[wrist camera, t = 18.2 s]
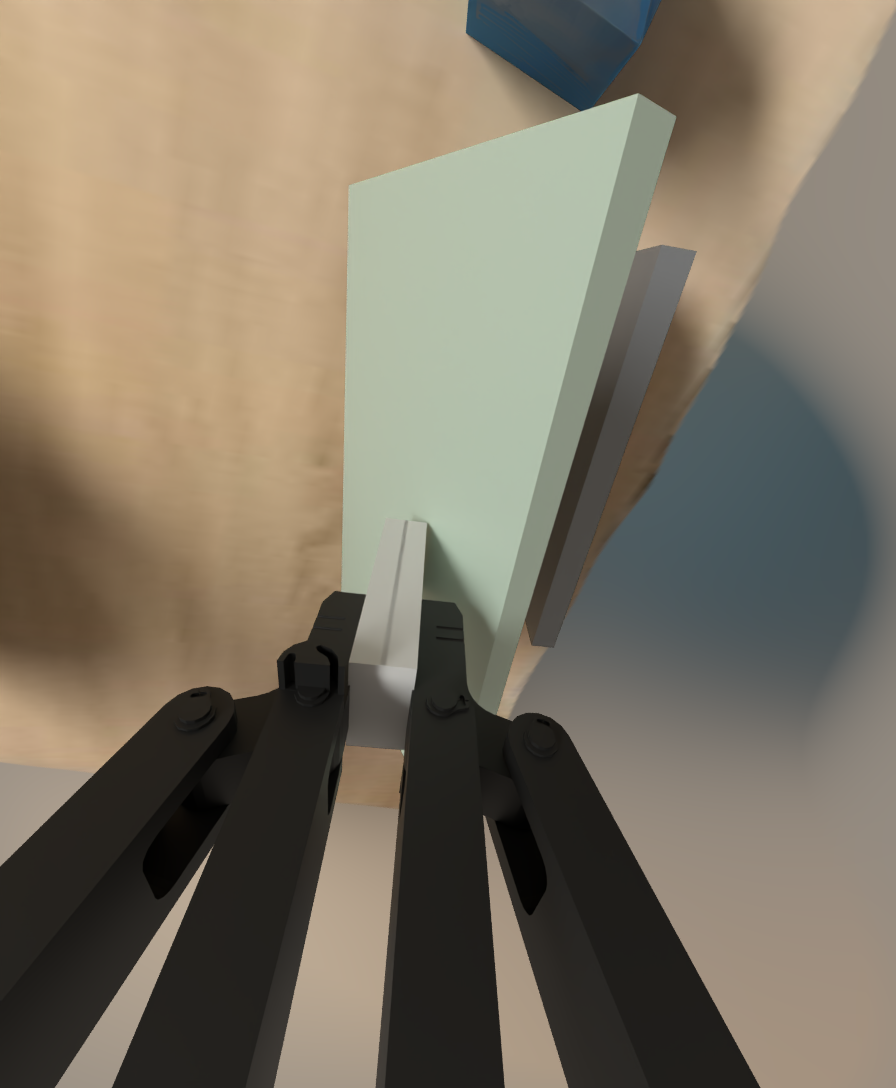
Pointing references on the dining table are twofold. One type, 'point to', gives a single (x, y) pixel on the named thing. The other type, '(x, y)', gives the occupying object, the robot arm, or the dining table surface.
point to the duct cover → (486, 352)
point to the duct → (607, 428)
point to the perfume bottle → (564, 40)
